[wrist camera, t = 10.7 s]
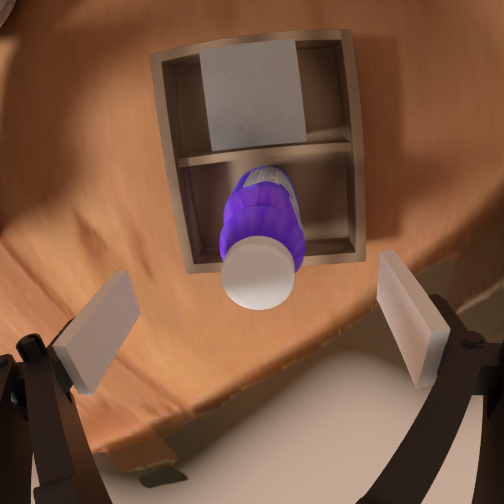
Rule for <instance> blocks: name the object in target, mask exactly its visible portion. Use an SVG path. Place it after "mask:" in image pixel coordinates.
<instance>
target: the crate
mask: <svg viewBox="0 0 504 504" xmlns="http://www.w3.org/2000/svg"><path fill="white" fill-rule="evenodd" d="M283 39H295V45H296V52H297V60H298V67H299V75H300V83H301V91H302V100H303V108H304V118H305V127H306V138H307V142H296V143H283V144H272V145H262V146H252V147H243V148H235V149H227V150H219V151H212V147H211V140H210V132H209V125H208V118H207V110H206V102H205V95H204V87H203V79H202V71H201V63H200V55H199V51H202V50H207V49H213V48H218V47H225V46H231V45H238V44H245V43H253V42H262V41H272V40H283ZM150 59H151V68H152V77H153V85H154V93H155V101H156V108H157V115H158V122H159V129H160V136H161V143H162V149H163V155H164V161H165V167H166V173H167V179H168V185H169V190H170V196H171V201H172V207H173V212H174V217H175V222H176V227H177V232H178V237H179V242H180V247H181V252H182V256H183V261H184V265H185V270H186V274H193V273H209V272H221V270H222V266H223V260H222V257H221V253H220V234H221V231H222V228H223V227H224V220H223V219H224V208H225V205H226V202H227V200H228V198H229V197H230V195H231V194H232V192H233V190H234V188H235V187H236V185H237V183H238V182H239V180H240V178H241V177H242V176H243V175H244V174H245V173H247V172H249V171H251V170H252V169H255V168H258V167H261V166H276V167H278V168H280V169H282V170H283V171H284V172H285V173H286V174H287V175H288V176H289V178H290V180H291V181H292V184H293V186H294V188H295V191H296V194H297V198H298V202H299V211H300V214H299V215H300V219H301V223H302V226H303V231H304V238H305V253H304V259H303V262H302V264H301V266H311V265H325V264H338V263H350V262H363V261H366V178H365V155H364V139H363V125H362V113H361V102H360V93H359V84H358V75H357V68H356V60H355V53H354V46H353V40H352V34H351V30H345V29H329V30H299V31H284V32H272V33H262V34H253V35H246V36H238V37H231V38H225V39H219V40H213V41H208V42H202V43H197V44H193V45H188V46H183V47H179V48H175V49H170V50H166V51H162V52H158V53H155V54H151V55H150Z"/></svg>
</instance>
